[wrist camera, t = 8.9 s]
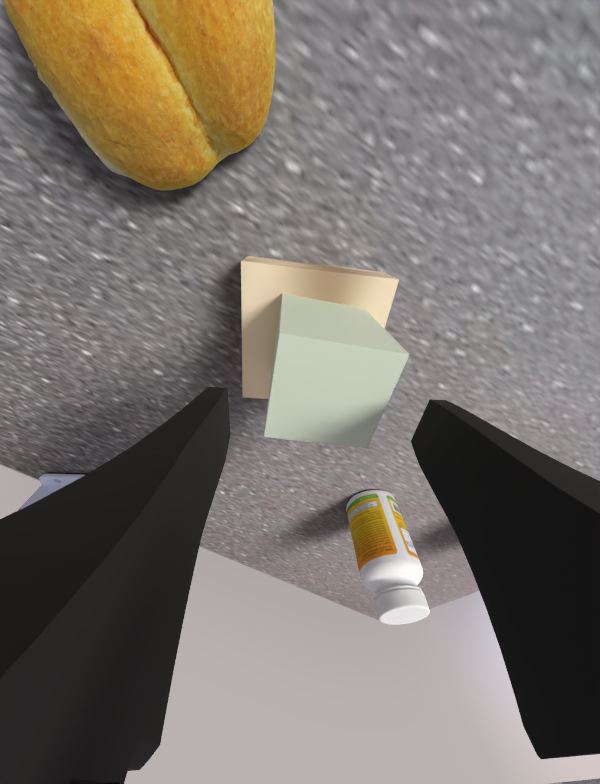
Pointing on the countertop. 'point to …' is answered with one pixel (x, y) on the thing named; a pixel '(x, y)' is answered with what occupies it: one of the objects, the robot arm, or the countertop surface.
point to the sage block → (330, 373)
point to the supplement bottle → (386, 557)
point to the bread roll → (155, 78)
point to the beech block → (308, 280)
